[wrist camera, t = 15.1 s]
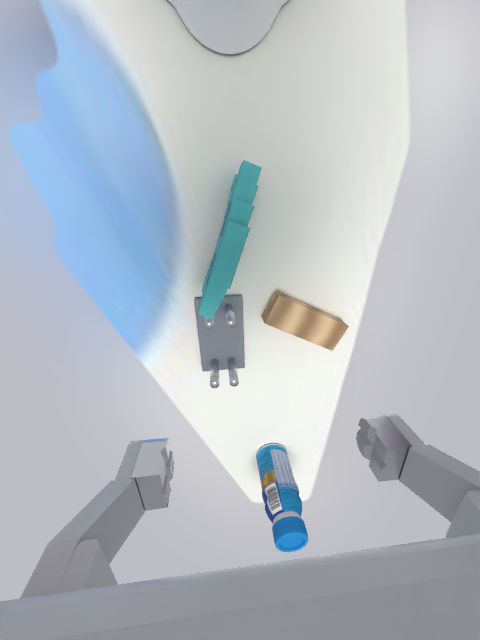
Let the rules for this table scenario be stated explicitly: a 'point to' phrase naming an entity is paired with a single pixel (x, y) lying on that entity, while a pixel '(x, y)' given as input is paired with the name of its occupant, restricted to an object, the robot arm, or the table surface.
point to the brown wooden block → (303, 321)
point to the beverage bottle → (281, 498)
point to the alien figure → (230, 239)
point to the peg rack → (222, 339)
